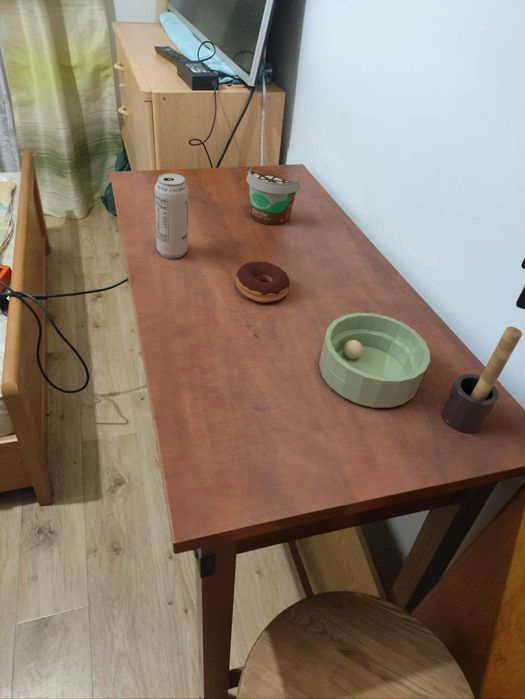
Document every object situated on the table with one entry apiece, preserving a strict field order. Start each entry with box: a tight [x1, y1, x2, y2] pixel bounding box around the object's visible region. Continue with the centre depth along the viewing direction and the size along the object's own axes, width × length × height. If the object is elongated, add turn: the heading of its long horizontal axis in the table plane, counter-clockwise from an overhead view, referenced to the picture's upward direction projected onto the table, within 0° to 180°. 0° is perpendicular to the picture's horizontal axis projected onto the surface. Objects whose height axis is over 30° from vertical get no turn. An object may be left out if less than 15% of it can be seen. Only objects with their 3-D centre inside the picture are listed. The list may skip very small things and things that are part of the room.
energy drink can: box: [154, 172, 189, 259], centre depth 96 cm, size 6×6×15 cm
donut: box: [235, 260, 291, 304], centre depth 93 cm, size 10×10×4 cm
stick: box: [470, 326, 523, 400], centre depth 69 cm, size 2×2×16 cm
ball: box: [344, 340, 363, 359], centre depth 81 cm, size 3×3×3 cm
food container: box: [246, 166, 301, 226], centre depth 113 cm, size 12×6×10 cm, turn 68°
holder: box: [440, 373, 500, 434], centre depth 73 cm, size 6×6×6 cm
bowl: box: [318, 312, 431, 409], centre depth 78 cm, size 16×16×6 cm
